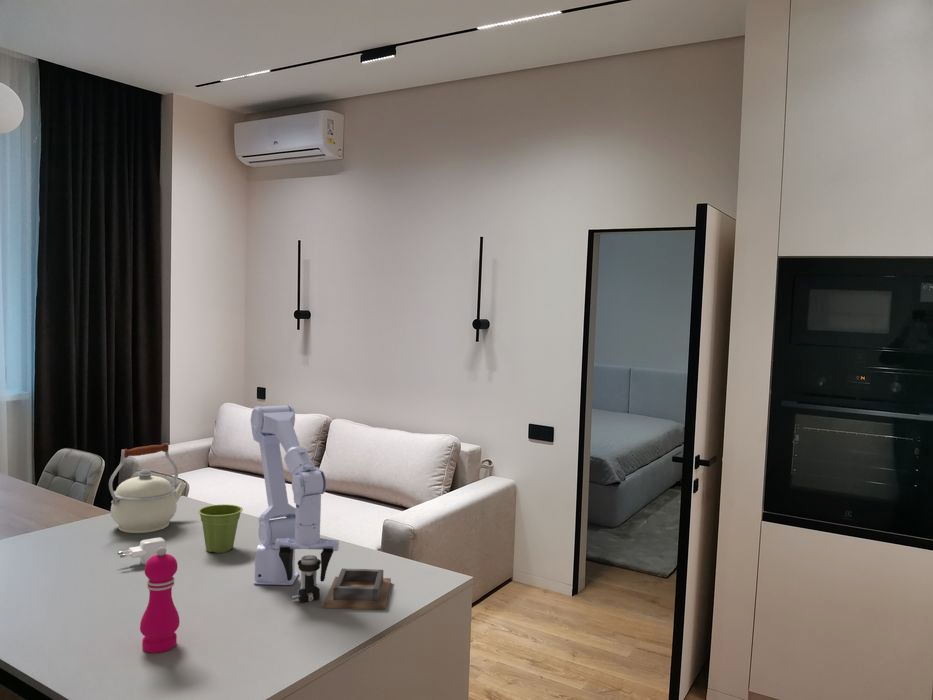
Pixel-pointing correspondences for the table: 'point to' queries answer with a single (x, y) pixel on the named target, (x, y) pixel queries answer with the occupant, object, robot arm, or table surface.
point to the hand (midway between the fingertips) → (306, 579)
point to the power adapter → (145, 549)
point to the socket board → (358, 590)
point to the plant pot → (220, 526)
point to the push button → (308, 579)
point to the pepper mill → (160, 604)
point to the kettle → (144, 496)
